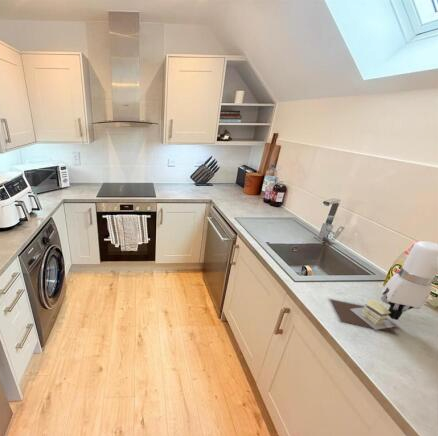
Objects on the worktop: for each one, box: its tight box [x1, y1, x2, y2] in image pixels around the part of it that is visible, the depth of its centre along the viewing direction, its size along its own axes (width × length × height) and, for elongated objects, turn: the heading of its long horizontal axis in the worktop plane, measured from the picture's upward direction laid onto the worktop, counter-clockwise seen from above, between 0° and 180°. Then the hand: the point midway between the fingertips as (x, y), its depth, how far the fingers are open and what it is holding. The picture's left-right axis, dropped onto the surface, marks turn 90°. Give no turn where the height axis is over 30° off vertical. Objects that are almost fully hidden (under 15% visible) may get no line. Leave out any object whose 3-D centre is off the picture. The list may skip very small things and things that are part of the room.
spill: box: [330, 299, 396, 334], centre depth 91 cm, size 16×12×1 cm
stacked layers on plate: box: [350, 299, 397, 331], centre depth 89 cm, size 10×9×6 cm
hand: (392, 316), depth 87 cm, fingers closed
